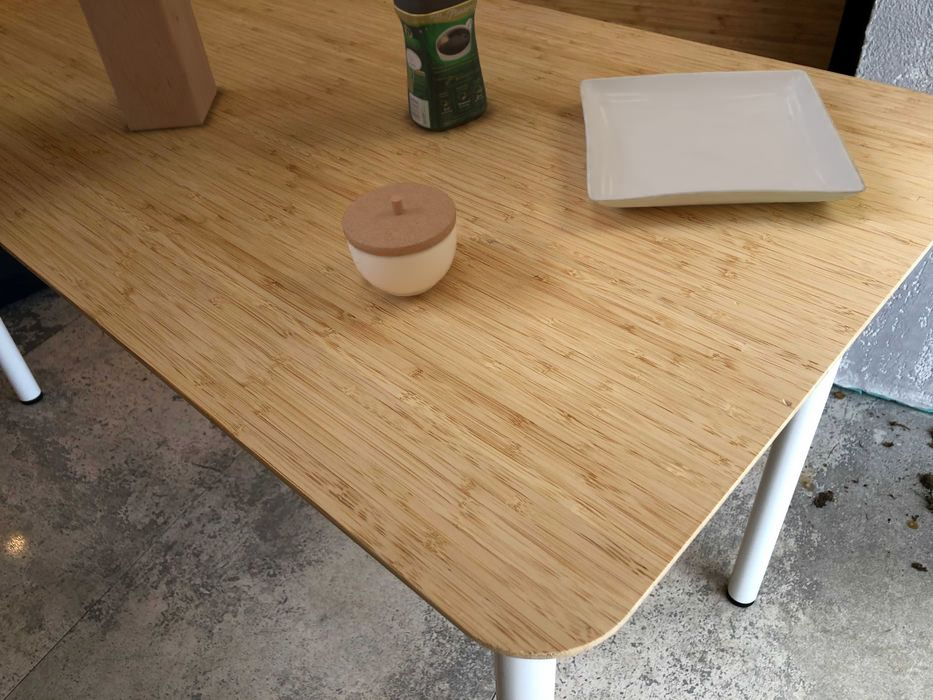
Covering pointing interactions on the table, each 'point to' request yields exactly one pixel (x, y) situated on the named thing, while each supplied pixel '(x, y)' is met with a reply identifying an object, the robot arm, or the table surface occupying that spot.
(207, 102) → the wooden block
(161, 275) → the table surface
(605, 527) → the table surface
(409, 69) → the coffee jar
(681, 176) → the square plate
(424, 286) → the trinket box
